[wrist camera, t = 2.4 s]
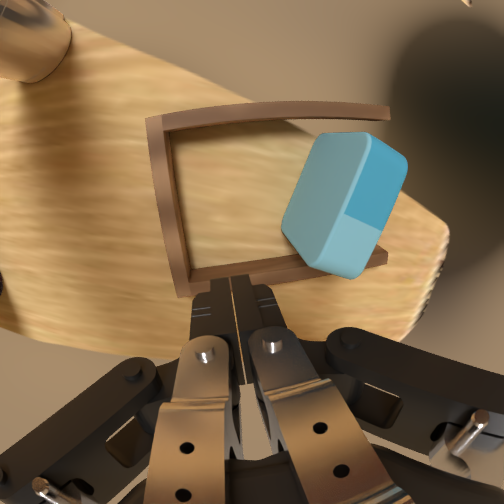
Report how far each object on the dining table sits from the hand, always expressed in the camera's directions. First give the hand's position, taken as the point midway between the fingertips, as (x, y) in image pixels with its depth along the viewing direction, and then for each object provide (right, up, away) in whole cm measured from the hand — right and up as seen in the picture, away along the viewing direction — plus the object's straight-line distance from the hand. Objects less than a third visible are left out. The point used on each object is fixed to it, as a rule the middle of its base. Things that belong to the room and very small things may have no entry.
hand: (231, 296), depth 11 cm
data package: (+8, +9, +20) cm, 24 cm away
